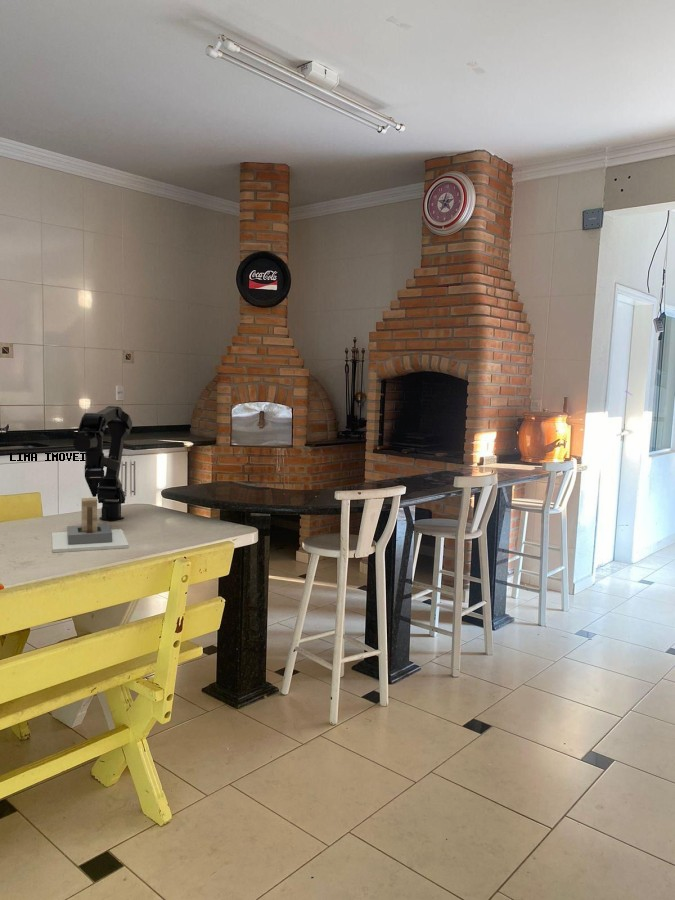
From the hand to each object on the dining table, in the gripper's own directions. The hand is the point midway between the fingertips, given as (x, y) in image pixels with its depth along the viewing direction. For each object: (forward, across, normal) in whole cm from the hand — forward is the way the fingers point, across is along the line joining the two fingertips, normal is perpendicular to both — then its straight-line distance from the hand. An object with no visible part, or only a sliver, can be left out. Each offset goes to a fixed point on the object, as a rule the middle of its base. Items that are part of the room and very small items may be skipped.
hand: (94, 494), depth 236 cm
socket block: (+12, -18, +2) cm, 22 cm away
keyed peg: (+12, -18, +2) cm, 21 cm away
